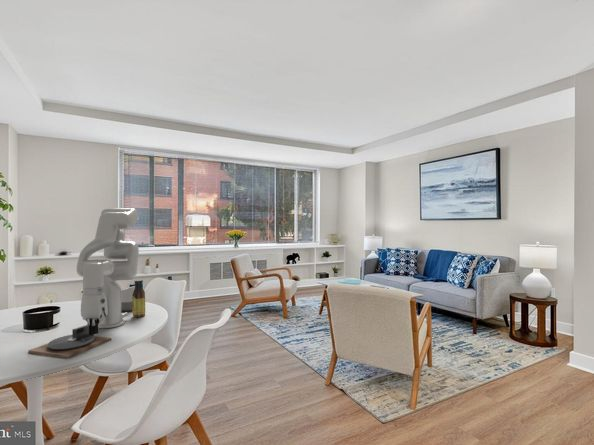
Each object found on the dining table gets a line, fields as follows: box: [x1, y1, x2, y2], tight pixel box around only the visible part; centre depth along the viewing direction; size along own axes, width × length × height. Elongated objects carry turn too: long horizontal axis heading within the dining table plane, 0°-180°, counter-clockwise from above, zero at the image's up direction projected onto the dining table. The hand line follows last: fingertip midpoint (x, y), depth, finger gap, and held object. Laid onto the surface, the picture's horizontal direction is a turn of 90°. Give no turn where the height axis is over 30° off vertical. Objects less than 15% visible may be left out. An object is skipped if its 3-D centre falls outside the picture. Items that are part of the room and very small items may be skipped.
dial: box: [47, 324, 96, 351], centre depth 136 cm, size 18×16×5 cm
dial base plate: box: [27, 335, 112, 359], centre depth 135 cm, size 20×20×1 cm
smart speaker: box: [121, 285, 135, 312], centre depth 190 cm, size 10×9×14 cm
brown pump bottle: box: [132, 279, 146, 318], centre depth 178 cm, size 6×6×20 cm
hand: (93, 333), depth 139 cm, fingers closed
